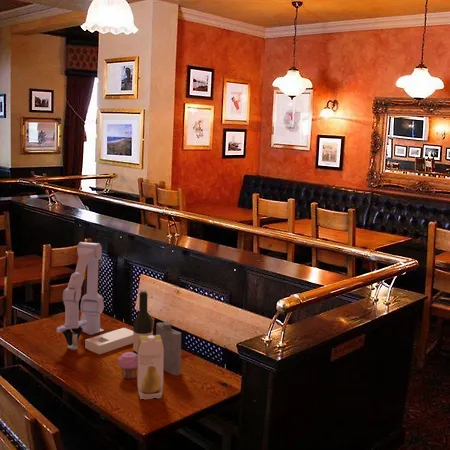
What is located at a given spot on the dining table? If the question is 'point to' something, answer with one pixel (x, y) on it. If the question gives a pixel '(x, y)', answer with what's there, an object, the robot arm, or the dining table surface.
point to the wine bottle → (142, 321)
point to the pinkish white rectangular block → (73, 342)
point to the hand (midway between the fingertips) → (72, 344)
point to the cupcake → (128, 364)
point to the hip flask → (170, 347)
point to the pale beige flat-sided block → (109, 341)
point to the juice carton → (150, 366)
